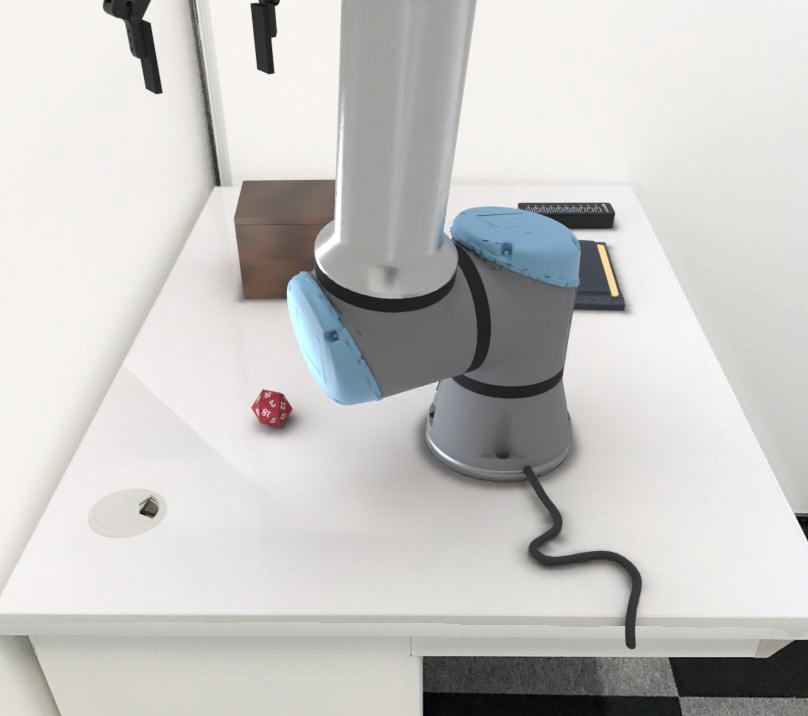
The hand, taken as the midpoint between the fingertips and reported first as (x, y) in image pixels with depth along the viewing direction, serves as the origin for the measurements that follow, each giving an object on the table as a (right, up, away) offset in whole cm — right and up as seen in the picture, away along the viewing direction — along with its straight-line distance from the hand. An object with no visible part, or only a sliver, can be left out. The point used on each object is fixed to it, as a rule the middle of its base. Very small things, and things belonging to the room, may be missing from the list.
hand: (211, 81), depth 94 cm
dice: (+7, -38, -2) cm, 39 cm away
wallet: (+43, -14, +25) cm, 52 cm away
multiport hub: (+46, -1, +38) cm, 60 cm away
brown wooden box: (+7, -14, +24) cm, 29 cm away
